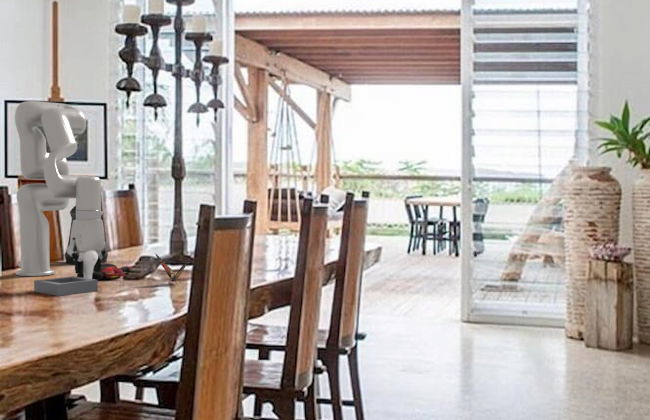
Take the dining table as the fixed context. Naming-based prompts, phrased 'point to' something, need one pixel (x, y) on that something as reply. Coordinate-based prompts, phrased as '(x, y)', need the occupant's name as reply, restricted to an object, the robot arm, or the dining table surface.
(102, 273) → the toy motorcycle
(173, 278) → the butterfly
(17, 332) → the dining table surface
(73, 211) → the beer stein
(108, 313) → the dining table surface
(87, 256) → the lightbulb
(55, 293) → the socket tray
